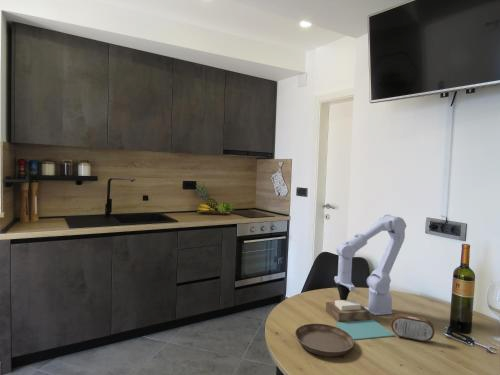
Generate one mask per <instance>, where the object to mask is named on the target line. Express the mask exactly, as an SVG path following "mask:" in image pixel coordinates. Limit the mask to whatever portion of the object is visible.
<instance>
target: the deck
mask: <svg viewBox="0 0 500 375" xmlns="http://www.w3.org/2000/svg"><path fill="white" fill-rule="evenodd" d="M325 312H326V313H327V314H329V315H330V317H331V318H333V319H334V320H335V321H336V322H349V321H362V320H370V312H369V311H368V310H367V309H366V308H364V306H363V305H361V309H358V310H343V311H342V310H340V309H339V308H338V307H337V306H336V305H335V301H327V302H325Z"/></svg>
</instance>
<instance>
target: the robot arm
mask: <svg viewBox="0 0 500 375" xmlns="http://www.w3.org/2000/svg"><path fill="white" fill-rule="evenodd" d="M407 226H408V225H407V224H406V222H405V220H404V218H402V217H400V216H395V215H391V214H385V215H383V216H382V217H380V218H379V219H378V220H377V222H375V223H374V224H372V226H370V227H369V228H367V229H366V230H365V231H363V233H354V235H353V237H351V238H350V239H349V240H346V241H345V243H340V244H339V245H338V246H337V248H336V253H337V254H338V265H337V275H335V276H334V278H333V280H334V282H335V284H336V289H337V290H338V295H339V299H340V300H348V297H349V294H350V293H351V292H355V290H356V286H355V285H354V284H353V282H352V270H353V268H352V267H353V258H354V257H355V255H356V252H358V251H359V250H360V249H362V248H364V247H365V246H366V245H367V244H368V241H369V240H370V239H371V238H373V237H374V236H376V235H378V234H380V233H381V232H387V233H388V234H389V236H390V238H389V240H388V242H387V245H386V246H385V247H386V248H385V249H384V252H383V254H382V256H381V259H380V260H379V263H378V265H377V267H376V269H374V270H372V272H371V273H370V275H369V276H368V277H367V278H366V284H367V286H368V306H365V307H364V306H363V307H364V308H366V309H367V310H368V311H369V314H371V315H373V316H381V315H392V314H393V312H392V304H393V298H392V294H391V293H390V292H389V291H390V286H391V285H390V284H391V282H392V280H391V276H390V274H391V271H392V268H393V267H394V264H395V262H396V260H397V258H398V255H399V254H400V253H399V252H400V250H401V248H402V246H403V243H404V241H405V238H406V234H405V233H406V228H407Z"/></svg>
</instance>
